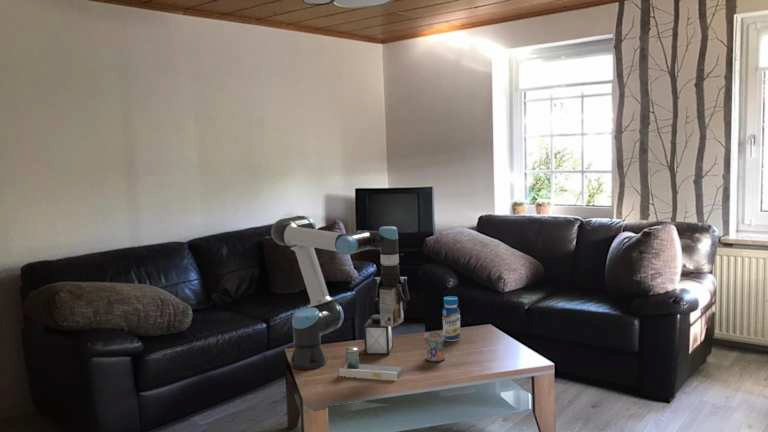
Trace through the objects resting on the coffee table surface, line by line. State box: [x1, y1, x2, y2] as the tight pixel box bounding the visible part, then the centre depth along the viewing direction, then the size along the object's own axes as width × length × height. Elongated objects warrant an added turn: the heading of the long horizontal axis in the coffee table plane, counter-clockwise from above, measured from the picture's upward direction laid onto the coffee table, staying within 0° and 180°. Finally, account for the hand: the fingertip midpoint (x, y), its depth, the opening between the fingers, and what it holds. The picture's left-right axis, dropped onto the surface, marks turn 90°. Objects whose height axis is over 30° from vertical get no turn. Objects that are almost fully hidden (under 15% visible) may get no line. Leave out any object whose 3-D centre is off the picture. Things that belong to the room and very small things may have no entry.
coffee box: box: [378, 283, 404, 328], centre depth 254 cm, size 9×6×16 cm
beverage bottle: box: [441, 295, 462, 342], centre depth 290 cm, size 8×8×20 cm
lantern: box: [363, 289, 394, 356], centre depth 277 cm, size 11×11×28 cm
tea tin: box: [345, 346, 360, 369], centre depth 252 cm, size 5×5×8 cm
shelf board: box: [338, 363, 404, 382], centre depth 249 cm, size 24×10×3 cm, turn 72°
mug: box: [423, 331, 446, 362], centre depth 264 cm, size 12×9×11 cm
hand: (391, 317), depth 255 cm, fingers closed on coffee box, 8 cm apart
